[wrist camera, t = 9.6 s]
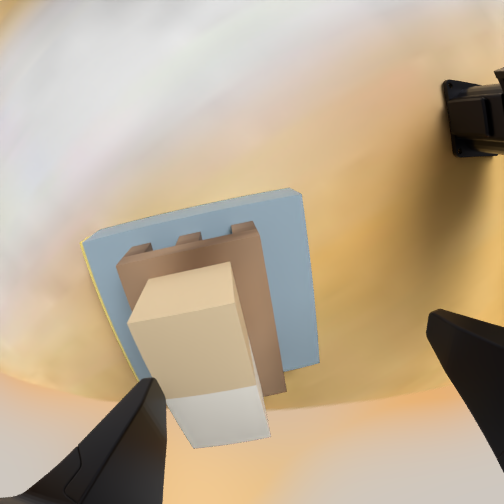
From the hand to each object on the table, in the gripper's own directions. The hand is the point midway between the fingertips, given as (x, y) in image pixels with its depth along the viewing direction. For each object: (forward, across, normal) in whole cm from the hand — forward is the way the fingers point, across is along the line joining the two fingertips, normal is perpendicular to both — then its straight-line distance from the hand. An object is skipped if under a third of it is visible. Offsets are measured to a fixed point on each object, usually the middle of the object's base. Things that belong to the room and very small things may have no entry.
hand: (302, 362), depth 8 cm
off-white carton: (+6, +4, +5) cm, 9 cm away
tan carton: (+6, +4, +1) cm, 7 cm away
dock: (+12, +4, +3) cm, 13 cm away
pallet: (+9, +4, +3) cm, 10 cm away
